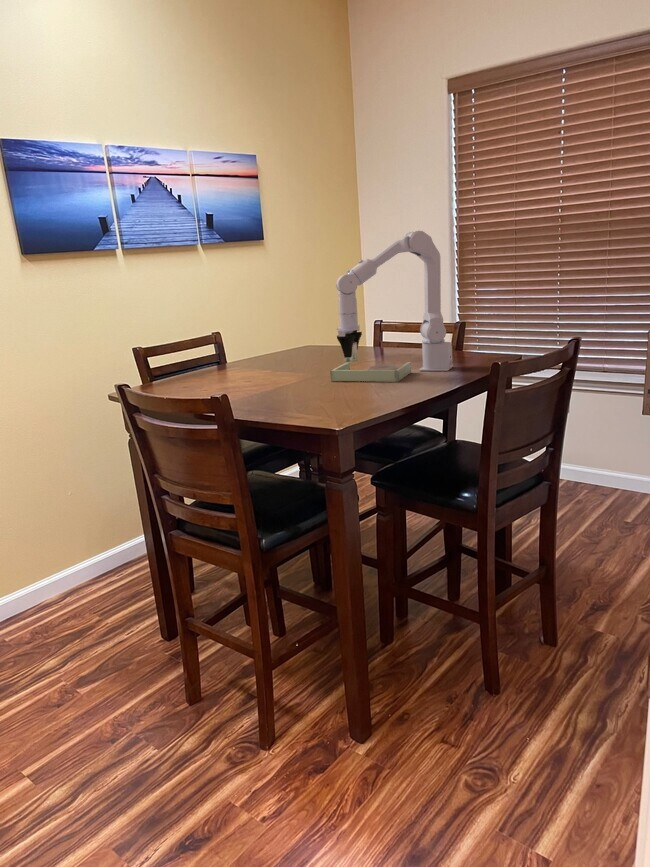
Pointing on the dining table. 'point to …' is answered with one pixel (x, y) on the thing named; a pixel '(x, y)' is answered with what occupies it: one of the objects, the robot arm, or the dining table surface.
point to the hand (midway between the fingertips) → (350, 356)
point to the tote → (369, 374)
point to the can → (354, 354)
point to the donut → (383, 367)
